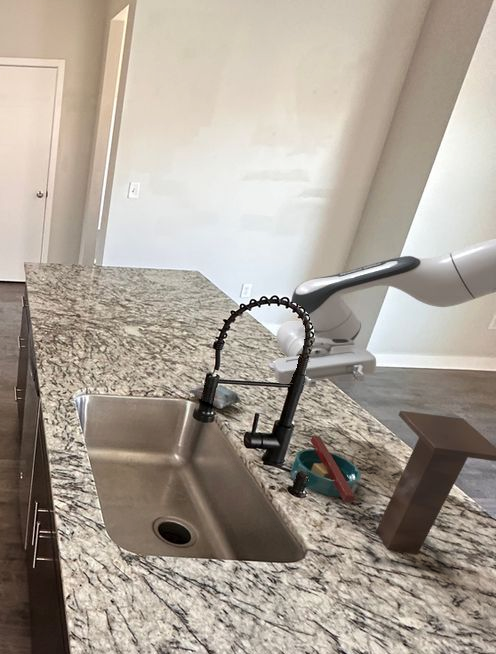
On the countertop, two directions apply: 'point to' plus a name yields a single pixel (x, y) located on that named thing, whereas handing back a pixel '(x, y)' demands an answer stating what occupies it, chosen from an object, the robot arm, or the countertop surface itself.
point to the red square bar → (333, 469)
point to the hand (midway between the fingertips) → (336, 381)
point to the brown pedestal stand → (429, 477)
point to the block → (320, 470)
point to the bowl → (323, 484)
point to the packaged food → (218, 396)
